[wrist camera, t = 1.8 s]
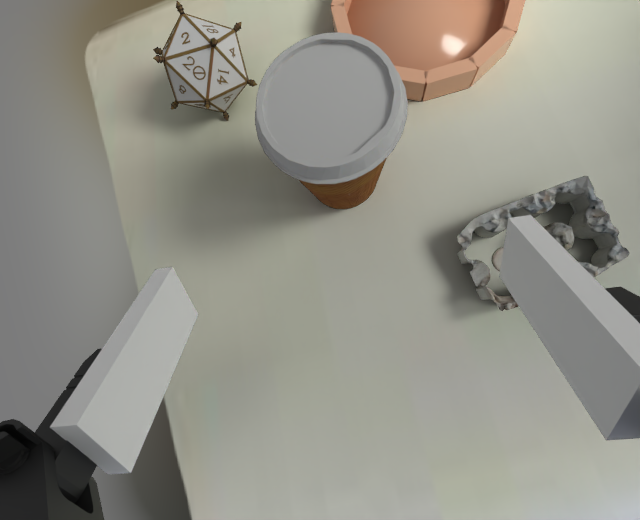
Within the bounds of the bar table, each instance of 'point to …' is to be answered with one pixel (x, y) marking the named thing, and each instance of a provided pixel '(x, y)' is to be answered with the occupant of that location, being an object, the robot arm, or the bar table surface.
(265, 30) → the bar table surface
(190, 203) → the bar table surface
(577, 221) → the egg carton
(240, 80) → the game die
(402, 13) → the terracotta bowl
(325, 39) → the disposable coffee cup
